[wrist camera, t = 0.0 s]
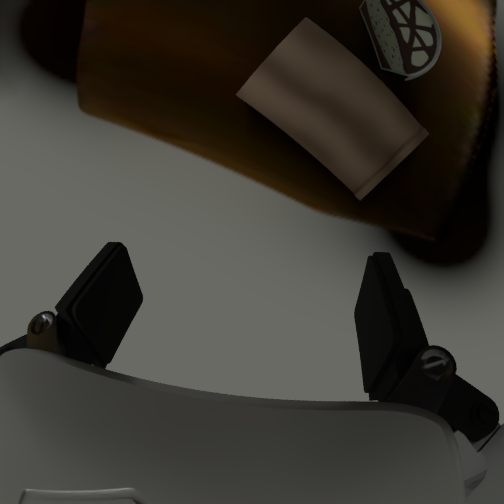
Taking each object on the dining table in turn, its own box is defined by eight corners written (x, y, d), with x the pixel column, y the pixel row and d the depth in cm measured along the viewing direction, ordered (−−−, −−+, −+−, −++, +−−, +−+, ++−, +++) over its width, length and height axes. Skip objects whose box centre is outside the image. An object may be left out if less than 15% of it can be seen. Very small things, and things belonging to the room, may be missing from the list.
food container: (422, 74, 28) (457, 77, 20) (383, 79, 29) (412, 81, 21) (394, -4, 22) (423, -22, 13) (354, -1, 23) (373, -23, 15)
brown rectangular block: (304, 24, 27) (306, 15, 22) (411, 125, 32) (429, 133, 27) (242, 92, 34) (234, 95, 29) (351, 183, 39) (359, 200, 34)
